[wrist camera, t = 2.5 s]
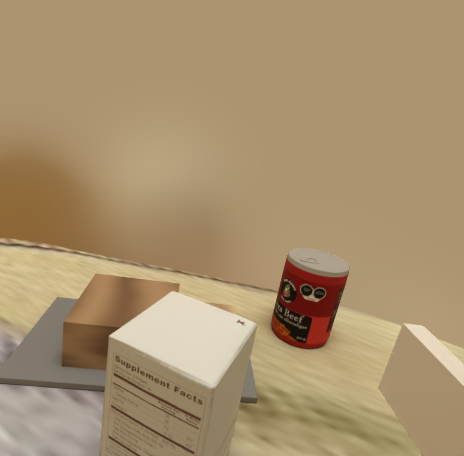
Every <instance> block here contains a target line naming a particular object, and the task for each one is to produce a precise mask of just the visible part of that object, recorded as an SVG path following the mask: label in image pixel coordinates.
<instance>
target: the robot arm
mask: <svg viewBox="0 0 464 456" xmlns="http://www.w3.org/2000/svg"><path fill="white" fill-rule="evenodd" d="M378 388H379V389H380V391H381V393H382V394H383V396H384V397H385V399H386V400H387V402H388V403H389V405H390V406H391V408H392V409H393V411H394V413H395V414H396V416H397V417H398V419H399V420H400V422H401V423H402V425H403V426H404V428H405V430H406V431H407V433H408V434H409V436H410V437H411V439H412V440H413V442H414V443H415V445H416V447H417V448H418V450H419V451H420V453H421V454H422V456H464V364H463V363H462V362H461V361H460V360H459V359H458V358H457V357H456V356H454V355H453V354H452V353H451V352H450V351H449V350H448V349H447V348H446V347H445V346H444V345H443V344H442V343H441V342H440V341H439V340H438V339H437V338H435V337H434V336H433V335H432V334H431V333H430V332H429V331H428V330H427V329H426V328H425V327H424V326H421V325H413V324H404V323H403V325H402V327H401V330H400V333H399V335H398V338H397V340H396V343H395V346H394V348H393V351H392V353H391V356H390V359H389V361H388V364H387V367H386V369H385V372H384V374H383V377H382V380H381V382H380V385H379V387H378Z"/></svg>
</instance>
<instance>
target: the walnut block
mask: <svg viewBox="0 0 464 456" xmlns="http://www.w3.org/2000/svg"><path fill="white" fill-rule="evenodd" d="M179 285H180V284H177V283H169V282H160V281H152V280H144V279H136V278H127V277H119V276H111V275H103V274H95V275H94V277H93V278H92V280H91V281H90V283H89V284H88V286H87V287H86V289H85V290H84V292H83V293H82V295H81V296H80V298H79V299H78V301H77V302H76V304H75V305H74V307H73V308H72V310H71V311H70V313H69V314H68V316H67V317H66V319H65V320H64V322H63V346H62V367H73V368H85V369H97V370H106V368H107V355H108V343H109V335H111V334H112V333H114V332H115V331H117V330H118V329H119V328H121V327H122V326H124V325H125V324H126V323H128V322H129V321H131V320H132V319H134V318H135V317H136V316H138V315H139V314H141V313H142V312H143V311H145V310H146V309H148V308H149V307H150V306H152V305H153V304H155V303H156V302H158V301H159V300H160V299H162V298H163V297H165V296H166V295H167V294H169V293H170V292H171V291H175V292H179Z"/></svg>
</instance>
